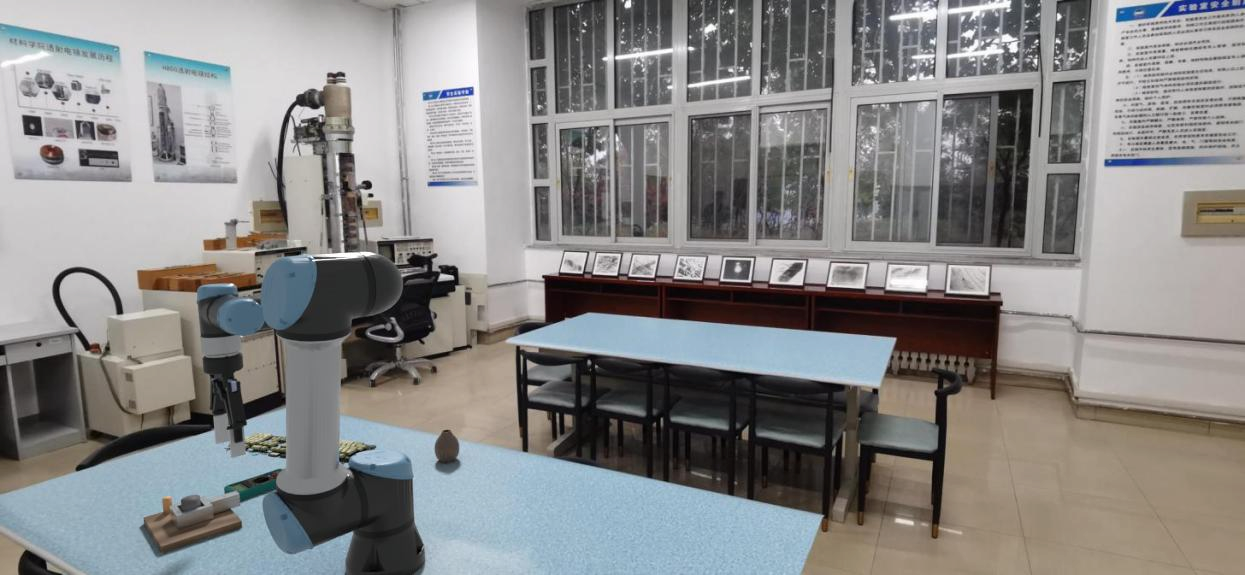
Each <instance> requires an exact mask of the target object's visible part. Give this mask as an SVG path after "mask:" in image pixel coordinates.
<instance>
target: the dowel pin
mask: <svg viewBox="0 0 1245 575" xmlns="http://www.w3.org/2000/svg"><path fill="white" fill-rule="evenodd" d="M172 497H173V496H171V495H168V496H163V497H162V498H161V501H162V502H161V503H162V512H163V513H164V514H169V513H170V506H172V505H173V499H172Z"/></svg>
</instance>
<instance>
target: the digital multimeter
mask: <svg viewBox="0 0 1245 575" xmlns="http://www.w3.org/2000/svg"><path fill="white" fill-rule="evenodd" d="M283 469H284V468H277V469H274V470H271V471H268V472H265V473H262V474H259V475H255V476H253V477H249V478H246V479H244V480H243V479H242V480H240V481H237V482H236V481H235V482H234V483H229V484H227V485H226V486H224V487H223V490H224V494H227V493H230V492H234V491H237V492H238V493H239V495H240V502H241V501H244V500H246V499H249V498H252V497H256V496H257V495H261V494H263V493H266V492H268V491H269V492H270V491H273V490H276V479H277V476H278V474H279V473H280V472H281V471H282V470H283Z"/></svg>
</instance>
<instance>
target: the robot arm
mask: <svg viewBox="0 0 1245 575" xmlns="http://www.w3.org/2000/svg"><path fill="white" fill-rule="evenodd" d="M403 290H404V280H403V276H402V273H401V270H399V268H398V266H397V265H396V264H395V263H394V262H393V261H392V260H391V259H389V258H388V257H386V256H384V255H381V254H378V253H375V252H371V251H355V252H337V253H335V252H333V253H331V252H330V253H309V254H306V253H302V254H299V255H292V256H291V255H290V256H289V255H288V256H283V257H279V258H277V259H275V261H273V262H271V263H270V265H269V267H268V268H267V269H266V271H265V273H264V276H263V279H262V283H261V289H260V294H258V295H246V296H240V295H239V293H238V291H239V290H238V287H237V285H235V284H234V283H211V284H204V285H200V286H199V287H198V288H197V290H196V293H197V295H196V296H197V297H196V298H197V299H196V304H197V312H198V322H199V324H198V325H199V332H200V340H199V341H200V348H201V354H202V355H203V357H202V369H203V372H204V374H206V375H209V381H210V386H209V389H210V390H209V410H210V412H211V413H212V415H213V417H212V418H213V426H214V428H213V429H214V439H215V440H214V441H215V444H216V445H219V444H222V443H226V442H229V444H230V447H229V450H230V458H232V459H233V458H237V457H241V456H244V455H247V451H246V450H245V438H246V437H245V430H244V429H245V427H247V425H248V422H247V417H246V413H245V412H246V410H245V407H244V401H243V397H242V387H241V381H240V380H238V379H237V378H235V373H236V372H239V371H241V370H242V369H243V368H244V359H243V358H244V356H243V353H242V352H241V350H242V341H243V340H245V339H244V336H250V335H253V334H255V333H257V332H258V331H263V330H270V329H273V330H275V335H276V337H277V338H278V339H280V340H281V341H283V343H284V344H285V437H286V442H285V443H286V458H285V467H284V468H282V469H283V470H282V471H281V472H280V473H279V474H278V476H277V479H276V488H275V491H269V493H267V494H265V496H263V499H262V512H263V517H264V521H265V524H266V526H267V529H268V532H269V534H270V536H271V538H272V540H273V542H274V544H276V546H277V547H278V549H279V550H280V551H282V552H283V553H285V554H287V555H296V554H299V553H301V552H305V551H307V550H313V549H314V548H315V547H317V546H320V545H322V544H325V543H328V542H330V541H332V540H334V539H337V538H340V537H342V536H345V535H346V534H350V533H352V535H351V540H350V544H349V546H348V550H347V553H346V557H345V564H344V566H345V567H344V568H345V575H413V574H414V573H415V572H416V571H418V570H419V569H420V568H422V566H423V564H424V562H425V559H426V550H425V544H424V542H423V539H422V537H421V534H420V531H419V529H418V528H417V525H416V522H415V502H414V472H413V465H412V460H411V458H410V456H408V455H407V454H406V453H403V452H401V451H398V450H392V449H372V450H368V451H363V452H359V453H356V454H354V455H353V456H352V457H350V459H349V462H347V465H348V467H346V465H344V464H341V463H340V462H341V461H339V440H340V437H341V436H340V430H341V429H340V426H341V390H342V388H341V387H342V386H341V384H342V383H341V381H342V380H341V379H342V378H341V377H342V376H341V375H342V342H344V340H346V339H347V338H348V337H349V336H351V334H352V320H354V319H358V318H364V317H370V316H375V315H377V314H381V313H383V312H385V311H387V310H389V309H391V308H392V307H393V306H394V305H395V304H397V302H398V301H399V299H400V297H401V296H402V293H403Z"/></svg>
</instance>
